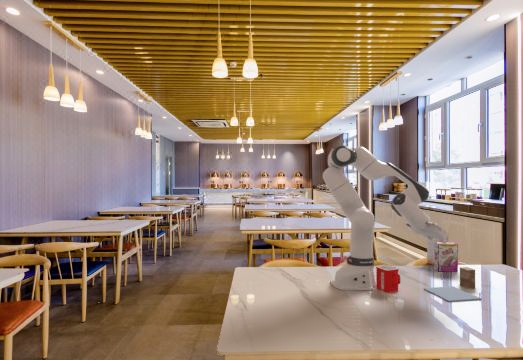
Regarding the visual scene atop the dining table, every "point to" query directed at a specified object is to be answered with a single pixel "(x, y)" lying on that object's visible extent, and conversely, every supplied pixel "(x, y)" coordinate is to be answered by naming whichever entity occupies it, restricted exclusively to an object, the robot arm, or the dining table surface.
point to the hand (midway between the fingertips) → (438, 240)
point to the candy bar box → (446, 257)
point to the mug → (387, 278)
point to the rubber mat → (452, 294)
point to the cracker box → (432, 249)
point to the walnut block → (467, 277)
